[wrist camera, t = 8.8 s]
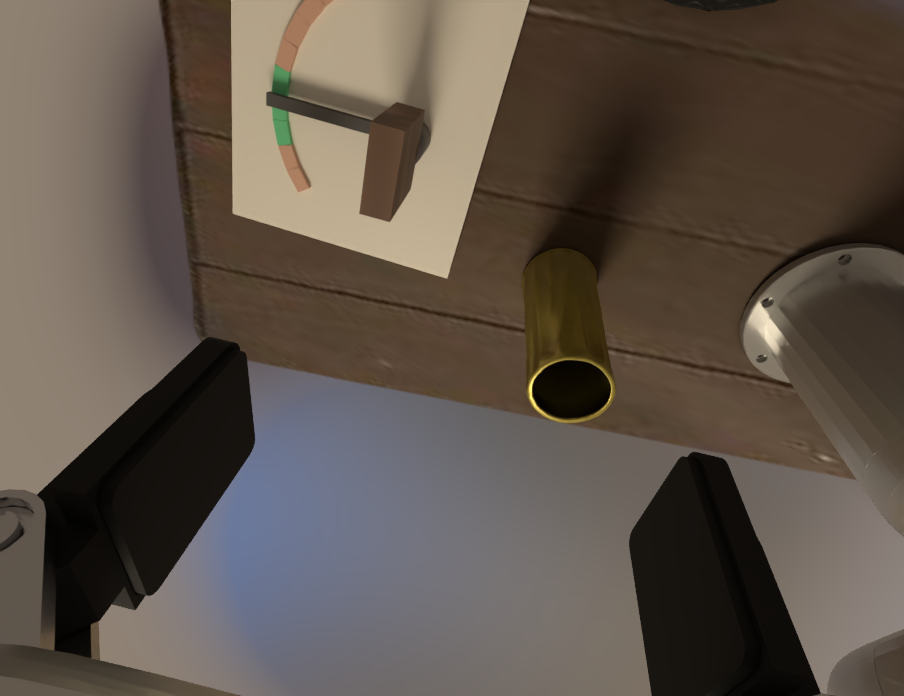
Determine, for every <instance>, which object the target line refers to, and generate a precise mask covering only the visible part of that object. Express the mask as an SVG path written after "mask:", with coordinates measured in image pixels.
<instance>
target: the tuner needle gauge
mask: <svg viewBox="0 0 904 696" xmlns="http://www.w3.org/2000/svg"><path fill="white" fill-rule="evenodd" d="M266 105H267V106H270V107H274V108H277V109H281V110H284V111H288V112H291V113H295V114H298V115H302V116H305V117H309V118H313V119H316V120H320V121H323V122H327V123H330V124H334V125H337V126H341V127H344V128H348V129H351V130H355V131H359V132H362V133H366V134H369V139H368V147H367V155H366V163H365V171H364V179H363V188H362V196H361V204H360V212H359V214H362V215H365V216H369V217H373V218H376V219H380V220H383V221H387V222H390V221H391V220H392V218H393V217H394V215H395V213H396V212H397V210H398V209H399V207H400V206H401V204H402V202H403V201H404V199H405V198H406V196H407V195H408V193H409V191H410V190H411V185H412V180H413V174H414V169H415V164H416V163H417V162H418V161H419V160H420V158H421V157H422V155H423V154H424V153H425V151H426V150H427V148H428V147H429V145H430V141H431V134H430V131H429V128H428V126H427V125H426V124H425V123H424V122H423V120H424V115H425V110H423V109H420V108H416V107H413V106H409V105H406V104H402V103H399V102H396V103H395V104H393V105H392V106H391V107H389V108H388V109H387V110H385V111H384V112H383V113H381V114H380V115H379V116H377V117H376V118H375V119H373V120H370V119H366V118H363V117H359V116H356V115H352V114H349V113H345V112H342V111H338V110H335V109H331V108H328V107H324V106H321V105H317V104H314V103H310V102H306V101H303V100H299V99H296V98H292V97H289V96H285V95H282V94H278V93H275V92H271V91H269V92H266Z"/></svg>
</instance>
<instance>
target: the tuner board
mask: <svg viewBox="0 0 904 696" xmlns="http://www.w3.org/2000/svg"><path fill="white" fill-rule="evenodd" d="M528 4H529V0H231V43H232V172H233V214H236V215H239V216H243V217H246V218H249V219H252V220H256V221H259V222H262V223H266V224H269V225H272V226H275V227H279V228H282V229H285V230H289V231H292V232H295V233H298V234H302V235H305V236H308V237H312V238H315V239H318V240H322V241H325V242H328V243H331V244H335V245H338V246H341V247H345V248H348V249H351V250H354V251H358V252H361V253H364V254H368V255H371V256H374V257H378V258H381V259H384V260H387V261H391V262H394V263H397V264H401V265H404V266H407V267H410V268H414V269H417V270H420V271H424V272H427V273H430V274H434V275H437V276H440V277H443V278H447V277H448V274H449V271H450V267H451V264H452V260H453V257H454V254H455V250H456V247H457V244H458V240H459V237H460V233H461V230H462V227H463V223H464V220H465V217H466V213H467V210H468V206H469V203H470V200H471V196H472V193H473V190H474V186H475V183H476V179H477V176H478V173H479V169H480V166H481V162H482V159H483V156H484V152H485V149H486V146H487V142H488V139H489V135H490V132H491V129H492V125H493V122H494V119H495V115H496V112H497V108H498V105H499V102H500V98H501V95H502V92H503V88H504V85H505V81H506V78H507V75H508V71H509V68H510V64H511V61H512V58H513V54H514V51H515V48H516V44H517V41H518V37H519V34H520V31H521V27H522V24H523V21H524V17H525V14H526V10H527V7H528ZM269 91H271V92H275V93H278V94H282V95H285V96H289V97H292V98H296V99H299V100H303V101H306V102H310V103H314V104H317V105H321V106H324V107H328V108H331V109H335V110H338V111H342V112H345V113H349V114H352V115H356V116H359V117H363V118H366V119H370V120H373V119H375V118H376V117H377V116H379V115H380V114H381V113H383V112H384V111H385V110H387V109H388V108H389V107H391V106H392V105H393V104H395V103H396V102H399V103H402V104H406V105H409V106H413V107H416V108H420V109H423V110H425V115H424V120H423V122H424V123H425V124H426V125H427V126H428V128H429V131H430V134H431V141H430V145H429V147H428V148H427V150H426V151H425V153H424V154H423V155H422V157H421V158H420V160H419V161H418V162H417V163H416V164H415V169H414V174H413V180H412V185H411V190H410V191H409V193H408V195H407V196H406V198H405V199H404V201H403V202H402V204H401V206H400V207H399V209H398V210H397V212H396V213H395V215H394V217H393V218H392V220H391V221H390V222H387V221H383V220H380V219H376V218H373V217H369V216H365V215H362V214H359V212H360V204H361V196H362V188H363V179H364V171H365V163H366V155H367V147H368V139H369V134H366V133H362V132H359V131H355V130H351V129H348V128H344V127H341V126H337V125H334V124H330V123H327V122H323V121H320V120H316V119H313V118H309V117H305V116H302V115H298V114H295V113H291V112H288V111H284V110H281V109H277V108H274V107H270V106H267V105H266V92H269Z"/></svg>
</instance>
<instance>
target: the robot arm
mask: <svg viewBox="0 0 904 696" xmlns="http://www.w3.org/2000/svg"><path fill="white" fill-rule="evenodd" d="M740 338H741V344H742V347H743V349H744V351H745V353H746V355H747V356H748V358H749V359H750V361H751V362H752V364H753V365H754V366H755V367H757V368H758V369H759V370H760V371H761V372H762V373H764V374H766V375H768V376H770V377H772V378H774V379H777V380H781V381H784V382H788V383H791V384H792V385H793V387H794V388H795V390H796V391H797V393H798V394H799V395H800V397H801V398H802V400H803V401H804V403H805V404H806V406H807V407H808V409H809V410H810V412H811V413H812V415H813V416H814V417H815V419H816V420H817V422H818V423H819V425H820V426H821V428H822V429H823V431H824V432H825V434H826V435H827V437H828V438H829V439H830V441H831V442H832V444H833V445H834V447H835V448H836V450H837V451H838V453H839V454H840V456H841V457H842V459H843V460H844V461H845V463H846V464H847V466H848V467H849V469H850V470H851V472H852V473H853V475H854V476H855V477H856V479H857V480H858V482H859V483H860V485H861V486H862V487H863V489H864V490H865V492H866V493H867V494H868V496H869V497H870V499H871V500H872V502H873V503H874V505H875V506H876V508H877V509H878V510H879V512H880V513H881V514H882V516H883V517H884V518H885V519H886V520H887V522H888V523H889V524H890V525H891V526H893V528H894V529H895V530H896V531H898V532H899V533H900V534H901V535H902V536H904V254H902V253H900V252H899V251H897V250H895V249H892V248H889V247H886V246H883V245H877V244H868V243H853V244H842V245H837V246H832V247H827V248H824V249H821V250H818V251H815V252H812V253H809V254H807V255H805V256H803V257H801V258H799V259H797V260H795V261H793V262H791V263H789V264H788V265H786V266H785V267H783V268H782V269H780V270H779V271H777V272H776V273H774V274H773V275H772V276H771V277H770V278H769V279H768V280H767V281H766V282H765V283H763V284H762V285H761V287H760V288H759V289H758V290H757V291H756V293H755V294H754V295H753V296H752V298H751V299H750V301H749V303H748V305H747V307H746V308H745V310H744V313H743V317H742V320H741V324H740ZM254 443H255V433H254V423H253V414H252V404H251V395H250V385H249V376H248V367H247V357H246V354H245V352H242V351H240V347H239V345H238V344H237V343H234V342H230V341H225V340H221V339H217V338H213V337H208V338H206V339H205V340H203V341H202V342H201V343H200V344H199V345H198V346H197V347H196V348H195V349H194V350H193V351H192V352H191V353H190V354H188V355H187V357H185V358H184V359H183V360H182V361H181V362H180V363H179V364H178V365H177V366H176V367H175V368H174V369H173V370H172V371H170V372H169V373H168V374H167V375H166V376H165V377H164V378H163V379H162V380H161V381H160V382H159V383H158V384H157V385H156V386H155V387H154V388H153V389H151V390H149V391H148V392H147V393H145V394H144V395H143V396H142V397H141V398H139V399H138V400H137V401H136V402H135V403H134V404H133V405H132V406H131V407H130V408H129V409H128V410H127V411H126V412H125V413H124V414H123V415H121V416H120V417H119V418H118V419H117V420H116V421H115V422H114V423H113V424H112V425H111V426H110V427H109V428H108V429H106V430H105V431H104V432H103V433H102V434H101V435H100V436H99V437H98V438H97V439H96V440H95V441H94V442H93V443H92V444H91V445H89V446H88V447H87V448H86V449H85V450H84V451H83V452H82V453H81V454H80V455H79V456H78V457H77V458H76V459H75V460H73V461H72V462H71V463H70V464H69V465H68V466H67V467H66V468H65V469H64V470H63V471H62V472H61V473H60V474H59V475H58V476H57V477H56V478H54V479H53V480H52V481H51V482H50V483H49V484H48V485H47V486H46V487H45V488H44V489H43V490H42V491H40V492H39V494H37V495H36V494H34V493H31V492H28V491H25V490H3V491H0V696H239V695H236V694H231V693H228V692H224V691H220V690H216V689H212V688H209V687H205V686H201V685H197V684H193V683H189V682H186V681H182V680H178V679H174V678H170V677H166V676H163V675H159V674H154V673H150V672H146V671H142V670H138V669H133V668H129V667H125V666H121V665H117V664H113V663H108V662H104V661H100V652H99V623H98V621H100V619H101V618H102V617H103V615H104V614H105V612H106V611H107V610H108V609H109V607H110V606H111V604H113V605H117V606H121V607H125V608H128V609H133V610H136V609H137V607H138V606H139V604H140V602H141V601H142V600H143V598H144V597H145V596H146V595H147V596H150V595H153V594H154V593H155V592H156V591H157V590H158V589H159V588H160V586H161V585H162V584H163V582H164V581H165V579H166V578H167V576H168V575H169V573H170V572H171V570H172V569H173V567H174V566H175V564H176V563H177V561H178V560H179V558H180V557H181V555H182V554H183V553H184V551H185V549H186V548H187V547H188V545H189V543H190V542H191V541H192V539H193V538H194V536H195V535H196V533H197V532H198V530H199V529H200V528H201V526H202V525H203V523H204V521H205V520H206V519H207V517H208V516H209V514H210V513H211V511H212V510H213V508H214V507H215V505H216V504H217V502H218V501H219V499H220V498H221V496H222V495H223V493H224V492H225V490H226V489H227V488H228V486H229V485H230V483H231V482H232V480H233V479H234V477H235V476H236V474H237V473H238V471H239V470H240V468H241V467H242V466H243V464H244V463H245V461H246V460H247V458H248V456H249V455H250V453H251V452H252V449H253V447H254ZM629 547H630V555H631V561H632V568H633V575H634V580H635V588H636V594H637V601H638V607H639V614H640V621H641V627H642V633H643V640H644V647H645V654H646V660H647V667H648V673H649V680H650V687H651V693H652V696H904V629H903V630H901V631H898V632H896V633H893V634H891V635H888V636H885V637H883V638H881V639H879V640H876V641H874V642H871V643H869V644H866V645H864V646H862V647H860V648H858V649H856V650H854V651H852V652H851V653H849V654H848V655H846V656H845V657H844V658H842V659H841V660H840V661H839V662H838V663H837V664H836V666H835V667H834V669H833V670H832V672H831V674H830V677H829V681H828V687H827V694H821V693H820V690H819V688H818V685H817V683H816V680H815V678H814V675H813V673H812V670H811V668H810V665H809V663H808V660H807V658H806V655H805V653H804V650H803V648H802V645H801V643H800V640H799V638H798V635H797V633H796V630H795V628H794V625H793V623H792V620H791V618H790V615H789V613H788V610H787V608H786V605H785V603H784V600H783V598H782V595H781V593H780V590H779V588H778V586H777V583H776V580H775V578H774V575H773V573H772V570H771V568H770V565H769V563H768V560H767V558H766V555H765V553H764V550H763V548H762V545H761V544H760V542H759V540H758V538H757V536H756V534H755V531H754V529H753V526H752V524H751V521H750V519H749V516H748V514H747V511H746V509H745V506H744V504H743V501H742V499H741V496H740V494H739V491H738V489H737V486H736V484H735V481H734V478H733V476H732V474H731V471H730V468H729V466H728V464H727V462H726V461H725V460H724V459H723V458H719V457H715V456H711V455H706V454H702V453H698V452H692V453H690V454H689V456H688V457H683V456H682V457H681V458H680V459H679V460H678V461H677V463H676V464H675V466H674V467H673V469H672V470H671V472H670V474H669V475H668V477H667V478H666V479H665V481H664V482H663V484H662V485H661V487H660V489H659V490H658V492H657V493H656V495H655V496H654V498H653V499H652V501H651V502H650V504H649V505H648V507H647V508H646V510H645V511H644V513H643V515H642V516H641V518H640V519H639V521H638V522H637V524H636V525H635V527H634V528H633V530H632V532H631V535H630V540H629Z"/></svg>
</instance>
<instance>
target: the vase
mask: <svg viewBox="0 0 904 696" xmlns="http://www.w3.org/2000/svg"><path fill="white" fill-rule="evenodd" d="M522 290H523V294H524V305H525V335H526V352H527V359H526V377H527V383H526V393H527V397H528V399H529V401H530V403H531V405H532V406H533V407H534V409H535V410H536V411H537V412H539V413H540V414H541V415H543V416H544V417H546V418H548V419H550V420H553V421H556V422H561V423H577V422H583V421H587V420H590V419H592V418H595V417H597V416H599V415H601V414H602V413H603V412H604V411H606V410H607V409H608V407H609V406H610V405H611V403H612V401H613V399H614V396H615V393H616V384H615V381H614V376H613V372H612V369H611V364H610V359H609V354H608V349H607V343H606V338H605V332H604V326H603V320H602V313H601V307H600V301H599V295H598V290H597V273H596V269H595V267H594V265H593V264H592V262H591V261H590V260H589V259H588V258H587V257H586V256H585V255H583V254H582V253H580V252H578V251H575V250H572V249H567V248H557V249H551V250H548V251H546V252H543V253H541V254H540V255H538V256H536V257H535V258H534V259H533V260H532V261H531V262H530V263H529V264H528V266H527V267H526V269H525V271H524V274H523V278H522Z"/></svg>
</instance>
